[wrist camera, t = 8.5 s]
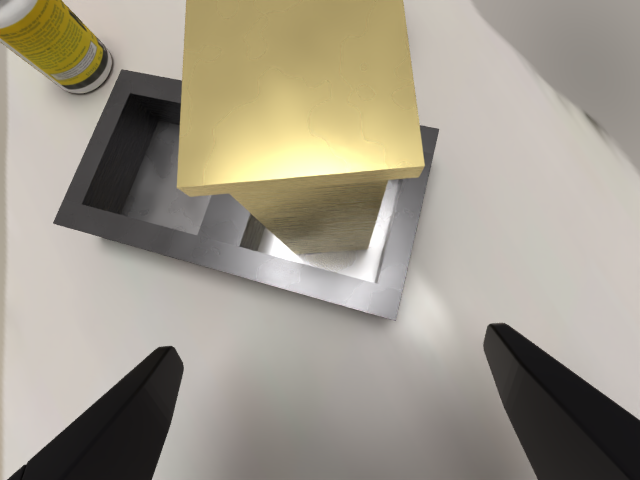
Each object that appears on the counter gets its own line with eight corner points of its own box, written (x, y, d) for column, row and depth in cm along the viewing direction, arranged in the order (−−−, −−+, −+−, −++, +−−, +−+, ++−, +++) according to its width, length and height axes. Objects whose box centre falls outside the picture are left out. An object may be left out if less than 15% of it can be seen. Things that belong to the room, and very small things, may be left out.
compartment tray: (387, 317, 18) (395, 320, 15) (100, 236, 21) (52, 223, 18) (424, 158, 20) (439, 129, 17) (155, 104, 23) (121, 69, 20)
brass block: (376, 256, 19) (424, 165, 7) (287, 262, 19) (176, 187, 7) (369, 172, 20) (397, -39, 8) (285, 179, 20) (186, -8, 8)
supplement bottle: (125, 53, 25) (11, -73, 16) (93, 103, 24) (-41, -3, 16) (78, 37, 25) (-52, -91, 17) (47, 84, 25) (-104, -26, 16)
